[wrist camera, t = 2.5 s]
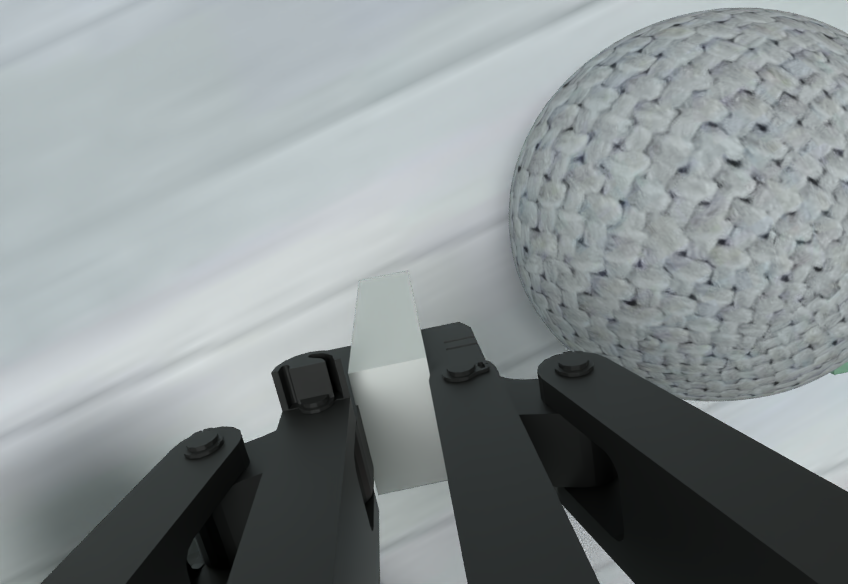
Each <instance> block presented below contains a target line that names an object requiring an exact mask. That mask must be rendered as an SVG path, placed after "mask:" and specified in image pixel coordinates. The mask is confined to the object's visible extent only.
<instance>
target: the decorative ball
mask: <svg viewBox="0 0 848 584" xmlns="http://www.w3.org/2000/svg"><path fill="white" fill-rule="evenodd" d="M509 233H510V241H511V248H512V253H513V258H514V262H515V265H516V269H517V272H518V275H519V277H520V280H521V283H522V285H523V287H524V290H525V292H526V294H527V296H528V298H529V299H530V301H531V303H532V305H533V306H534V308H535V310H536V311H537V313H538V314H539V316H540V317H541V319H542V320H543V321H544V323H545V324H546V325H547V327H548V328H549V329H550V330H551V332H552V333H553V334H554V335H555V336H556V337H557V338H558V339H559V340H560V341H561V342H562V343H563V344H564V345H565V346H566V347H567V348H568V349H569V350H570V351H572V352H574V351H583V352H589V353H596V354H598V355H601V356H604V357H606V358H608V359H610V360H612V361H613V362H615V363H617V364H619V365H621V366H622V367H624V368H626V369H628V370H630V371H631V372H633V373H635V374H637V375H639V376H640V377H642V378H644V379H646V380H648V381H649V382H651V383H653V384H655V385H657V386H658V387H660V388H662V389H664V390H666V391H667V392H669V393H671V394H673V395H674V396H676V397H678V398H680V399H684V400H694V401H732V400H744V399H753V398H759V397H764V396H770V395H774V394H778V393H782V392H786V391H789V390H792V389H795V388H798V387H800V386H803V385H805V384H808V383H810V382H812V381H814V380H817V379H819V378H820V377H822V376H824V375H826V374H828V373H830V372H832V371H834V370H835V369H837V368H839V367H840V366H842V365H843V364H845V363H846V362H848V34H847V33H845V32H843V31H842V30H839V29H837V28H835V27H833V26H831V25H828V24H826V23H824V22H821V21H818V20H815V19H812V18H809V17H806V16H802V15H798V14H794V13H790V12H784V11H778V10H770V9H762V8H724V9H714V10H707V11H700V12H694V13H689V14H685V15H681V16H677V17H674V18H670V19H667V20H663V21H661V22H658V23H655V24H652V25H650V26H648V27H645V28H643V29H641V30H638V31H636V32H634V33H632V34H630V35H628V36H626V37H624V38H622V39H621V40H619V41H617V42H615V43H614V44H612V45H611V46H609V47H608V48H606V49H604V50H603V51H602V52H600V53H599V54H597V55H596V56H595V57H593V58H592V59H591V60H589V61H588V62H587V63H585V64H584V65H583V66H582V67H581V68H580V69H578V70H577V71H576V72H575V73H574V74H573V75H572V76H571V77H570V78H569V79H568V80H567V81H566V82H565V83H564V84H563V85H562V86H561V87H560V88H559V90H558V91H557V92H556V93H555V94H554V95H553V97H552V98H551V99H550V100H549V102H548V103H547V104H546V106H545V107H544V109H543V110H542V112H541V113H540V115H539V116H538V118H537V119H536V121H535V123H534V125H533V127H532V128H531V130H530V132H529V134H528V136H527V138H526V140H525V143H524V145H523V148H522V150H521V153H520V155H519V158H518V161H517V164H516V168H515V172H514V176H513V180H512V185H511V192H510V202H509Z"/></svg>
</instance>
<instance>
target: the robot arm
mask: <svg viewBox="0 0 848 584" xmlns="http://www.w3.org/2000/svg"><path fill="white" fill-rule="evenodd" d="M537 373H538V379H528V380H519V379H509V378H504V377H501V376H500V375H499V373H498V371H497V368H496V367H495V366H494V365H493V364H492V363H491V362H489V361H486V360H485V358H484V356H483V354H482V351H481V349H480V347H479V345H478V343H477V340H476V338H475V337H474V334H473V332H472V330H471V327H469V326H467V325H465V324H463V323H460V322H456V323H451V324H447V325H442V326H437V327H432V328H427V329H422V330H421V329H420V325H419V320H418V315H417V310H416V305H415V301H414V296H413V291H412V286H411V282H410V277H409V272H408V271H403V272H399V273H394V274H389V275H384V276H379V277H374V278H369V279H364V280H359V284H358V293H357V301H356V310H355V318H354V326H353V335H352V343H351V346H347V347H342V348H338V349H333V350H328V351H315V352H308V353H305V354H301V355H298V356H295V357H293V358H291V359H288V360H286V361H284V362H283V363H281V364H280V365H278V366H277V367H276V368H275V369H274V370H273V371H272V373H271V374H272V377H273V381H274V384H275V387H276V391H277V394H278V397H279V401H280V404H281V408H282V411H283V412H282V415H281V418H280V421H279V424H278V427H277V430H276V431H274V432H272V433H270V434H267V435H265V436H263V437H260V438H257V439H255V440H252V441H249V442H247V443H244V441H243V438H242V435H241V432H240V430H238V429H236V428H234V427H217V428H208V429H204V430H203V431H199V432H196V433H194V434H193V435H192V436H191V437H189V438H187V439H185V440H183V441H182V442H180V443H179V444H178V445H177V446H175V447H174V448H173V449H172V450H171V451H170V452H169V453H168V454H167V455H166V456H165V457H164V458H163V459H162V460H161V461H160V462H159V463H158V464H157V465H156V466H155V467H154V468H153V469H152V470H151V471H150V472H149V473H148V474H147V475H146V476H145V477H144V478H143V479H142V480H141V481H140V483H139V484H138V485H137V486H136V487H135V488H134V489H133V490H132V491H131V492H130V493H129V494H128V495H127V496H126V497H125V498H124V499H123V500H122V501H121V502H120V503H119V504H118V505H117V506H116V507H115V508H114V509H113V510H112V511H111V512H110V513H109V514H108V515H107V516H106V517H105V518H104V519H103V520H102V521H101V522H100V523H99V524H98V525H97V526H96V528H95V529H94V530H93V531H92V532H91V533H90V534H89V535H88V536H87V537H86V538H85V539H84V540H83V541H82V542H81V543H80V544H79V545H78V546H77V547H76V548H75V549H74V550H73V551H72V552H71V553H70V554H69V555H68V556H67V557H66V558H65V559H64V560H63V561H62V562H61V563H60V564H59V565H58V566H57V567H56V568H55V569H54V570H53V571H52V573H51V574H50V575H49V576H48V577H47V578H46V579H45V580H44V581H43V582H42V583H41V584H380V562H379V508H378V504H377V500H376V496H375V493H374V479H375V483H376V487H377V491H378V495H381V494H385V493H390V492H395V491H399V490H404V489H409V488H414V487H418V486H423V485H428V484H433V483H437V482H442V481H447V480H448V484H449V489H450V494H451V499H452V504H453V510H454V515H455V520H456V525H457V530H458V535H459V541H460V546H461V551H462V556H463V561H464V567H465V572H466V577H467V582H468V584H600V583H599V581H598V579H597V577H596V575H595V573H594V571H593V569H592V567H591V565H590V562H589V560H588V558H587V556H586V554H585V552H584V550H583V548H582V546H581V544H580V542H579V539H578V537H577V535H576V533H575V531H574V529H573V527H572V525H571V523H570V521H569V519H568V517H567V514H566V512H565V510H564V508H563V506H564V507H565V508H566V509H567V510H568V511H569V513H570V514H571V515H572V516H573V517H574V518H575V519H576V520H577V521H578V522H579V523H580V524H581V526H582V527H583V528H584V529H585V530H586V531H587V532H588V533H589V534H590V535H591V536H592V537H593V539H594V540H595V541H596V542H597V543H598V544H599V545H600V546H601V547H602V548H603V549H604V550H605V552H606V553H607V554H608V555H609V556H610V557H611V558H612V559H613V560H614V561H615V562H616V563H617V565H618V566H619V567H620V568H621V569H622V570H623V571H624V572H625V573H626V574H627V575H628V576H629V578H630V579H631V580H632V581H633V582H634V583H635V584H848V492H847V491H845V490H843V489H842V488H840V487H838V486H836V485H834V484H833V483H831V482H829V481H827V480H825V479H824V478H822V477H820V476H818V475H816V474H815V473H813V472H811V471H809V470H807V469H806V468H804V467H802V466H800V465H798V464H797V463H795V462H793V461H791V460H789V459H788V458H786V457H784V456H782V455H780V454H779V453H777V452H775V451H773V450H772V449H770V448H768V447H766V446H764V445H763V444H761V443H759V442H757V441H755V440H754V439H752V438H750V437H748V436H746V435H745V434H743V433H741V432H739V431H737V430H736V429H734V428H732V427H730V426H728V425H727V424H725V423H723V422H721V421H719V420H718V419H716V418H714V417H712V416H710V415H709V414H707V413H705V412H703V411H701V410H700V409H698V408H696V407H694V406H692V405H691V404H689V403H687V402H685V401H683V400H682V399H680V398H678V397H676V396H674V395H673V394H671V393H669V392H667V391H666V390H664V389H662V388H660V387H658V386H657V385H655V384H653V383H651V382H649V381H648V380H646V379H644V378H642V377H640V376H639V375H637V374H635V373H633V372H631V371H630V370H628V369H626V368H624V367H622V366H621V365H619V364H617V363H615V362H613V361H612V360H610V359H608V358H606V357H604V356H601V355H598V354H596V353H589V352H583V351H574V352H572V351H568V352H564V353H563V354H559V355H555V356H552V357H550V358H548V359H546V360H544V361H543V362H542V363H541V364H540V365H539V366H538V372H537ZM562 505H563V506H562Z"/></svg>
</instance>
